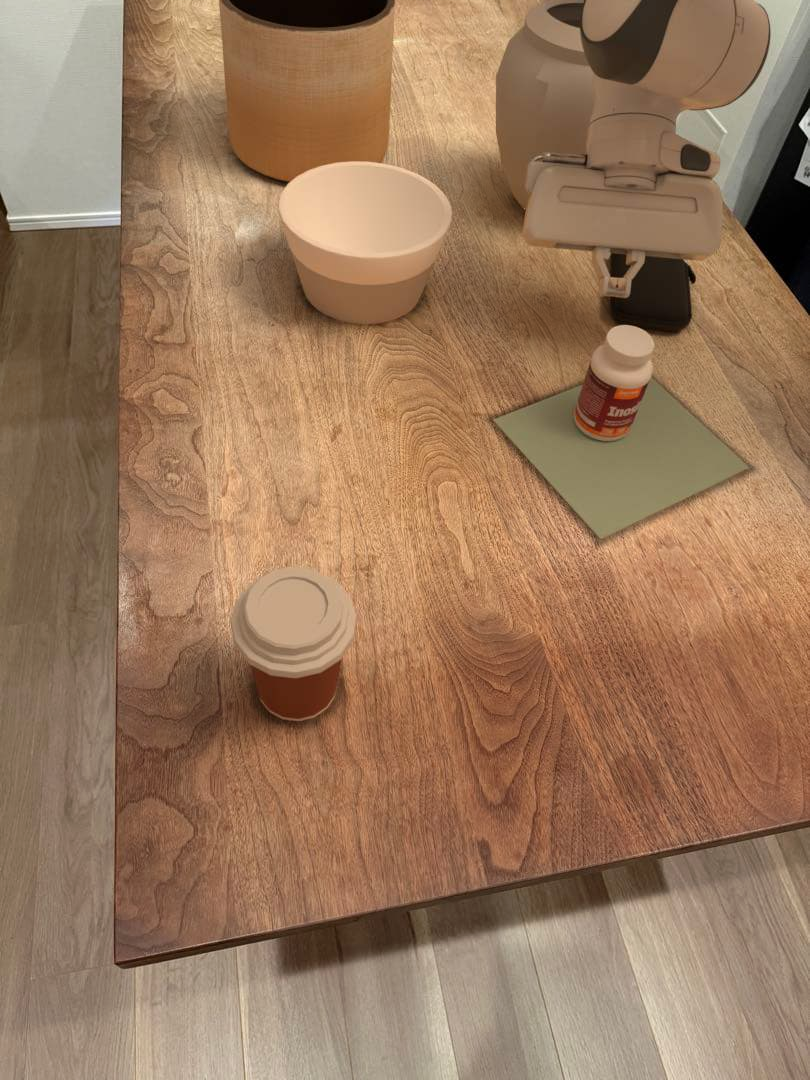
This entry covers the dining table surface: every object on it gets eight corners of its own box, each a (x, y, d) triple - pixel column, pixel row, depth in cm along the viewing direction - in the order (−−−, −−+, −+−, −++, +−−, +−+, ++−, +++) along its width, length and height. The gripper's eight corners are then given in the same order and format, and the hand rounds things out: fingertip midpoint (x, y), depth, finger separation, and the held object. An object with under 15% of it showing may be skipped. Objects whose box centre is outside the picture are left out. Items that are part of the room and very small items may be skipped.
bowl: (248, 281, 104) (241, 197, 95) (365, 224, 113) (368, 143, 105) (359, 363, 96) (362, 280, 88) (475, 294, 106) (488, 213, 97)
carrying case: (696, 342, 103) (689, 269, 112) (705, 321, 101) (697, 249, 110) (606, 328, 103) (607, 257, 112) (612, 307, 101) (613, 236, 110)
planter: (329, 98, 133) (330, -53, 117) (419, 164, 123) (433, 9, 107) (200, 134, 124) (182, -25, 108) (286, 209, 114) (280, 46, 98)
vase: (484, 244, 112) (517, 42, 93) (472, 164, 124) (499, -29, 105) (632, 250, 114) (695, 53, 95) (606, 171, 126) (657, -18, 107)
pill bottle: (601, 452, 90) (631, 369, 81) (560, 416, 93) (584, 333, 84) (642, 428, 93) (675, 346, 84) (601, 395, 95) (629, 312, 87)
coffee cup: (324, 623, 75) (324, 537, 66) (372, 709, 71) (380, 630, 61) (224, 663, 72) (209, 579, 63) (267, 756, 67) (258, 680, 58)
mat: (635, 366, 100) (636, 363, 99) (748, 469, 91) (749, 467, 90) (492, 422, 92) (492, 419, 92) (599, 541, 83) (600, 538, 83)
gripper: (533, 139, 86) (520, 282, 88) (736, 158, 87) (719, 300, 89) (523, 159, 93) (511, 292, 94) (713, 176, 93) (697, 308, 95)
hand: (613, 296), depth 92 cm, fingers closed
